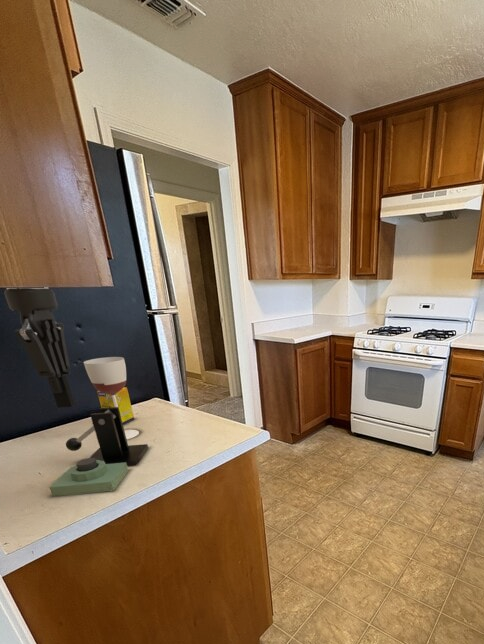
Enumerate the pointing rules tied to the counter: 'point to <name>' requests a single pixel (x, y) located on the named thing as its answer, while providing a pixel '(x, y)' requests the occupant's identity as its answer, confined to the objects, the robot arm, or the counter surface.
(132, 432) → the wineglass
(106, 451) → the bracket
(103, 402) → the supplement box
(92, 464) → the button
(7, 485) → the counter surface
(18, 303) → the robot arm
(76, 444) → the lever
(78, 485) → the button box
